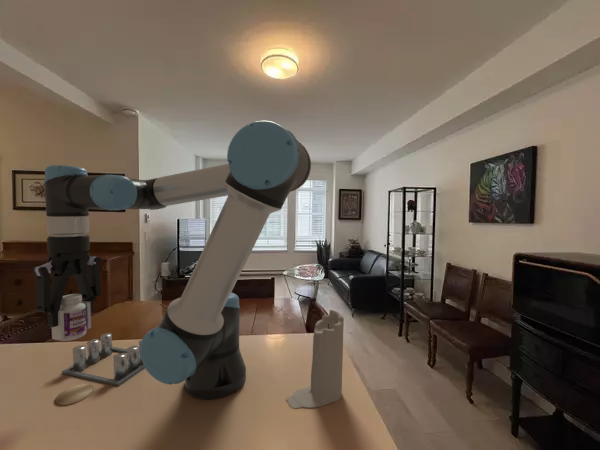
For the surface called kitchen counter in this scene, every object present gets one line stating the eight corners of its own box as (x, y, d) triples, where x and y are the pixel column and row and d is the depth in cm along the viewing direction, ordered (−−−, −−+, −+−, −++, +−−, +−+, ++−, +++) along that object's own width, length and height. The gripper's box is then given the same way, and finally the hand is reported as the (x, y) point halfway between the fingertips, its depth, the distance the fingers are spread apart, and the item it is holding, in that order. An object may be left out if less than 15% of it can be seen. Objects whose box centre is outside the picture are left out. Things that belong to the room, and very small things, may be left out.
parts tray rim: (160, 357, 84) (160, 355, 84) (118, 386, 70) (118, 383, 70) (109, 348, 89) (109, 346, 89) (62, 373, 75) (62, 371, 75)
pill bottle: (74, 342, 63) (72, 300, 63) (50, 341, 63) (49, 299, 63) (92, 331, 69) (90, 292, 68) (70, 331, 69) (69, 292, 68)
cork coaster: (100, 388, 69) (100, 386, 69) (70, 407, 63) (70, 406, 63) (78, 383, 71) (78, 381, 71) (47, 401, 65) (47, 400, 64)
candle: (282, 394, 68) (283, 314, 67) (332, 381, 74) (334, 306, 72) (293, 414, 62) (294, 326, 60) (347, 398, 67) (349, 317, 66)
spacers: (152, 359, 83) (152, 340, 82) (120, 381, 72) (119, 359, 72) (107, 351, 87) (106, 332, 86) (70, 370, 76) (69, 349, 76)
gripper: (94, 230, 74) (97, 316, 76) (6, 238, 57) (12, 349, 58) (117, 232, 72) (119, 319, 74) (33, 239, 55) (38, 355, 56)
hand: (72, 332), depth 66 cm, fingers closed on pill bottle, 5 cm apart
